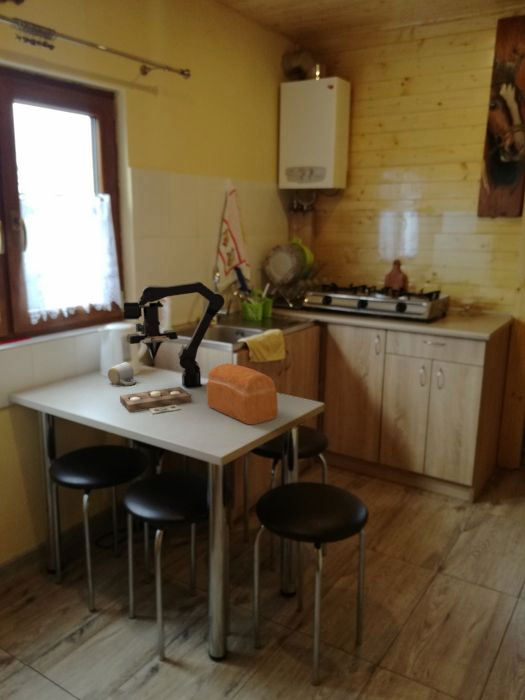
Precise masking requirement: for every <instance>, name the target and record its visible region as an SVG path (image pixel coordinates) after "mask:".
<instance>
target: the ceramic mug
mask: <svg viewBox="0 0 525 700" xmlns="http://www.w3.org/2000/svg"><path fill="white" fill-rule="evenodd" d="M134 375H135V372H134V368H133V367H132V365H131V364H130V363H128V362H127V361H125V362H122V363H120V364H117V365H113V366H112V367H111V368H109V369H108V371H107V377H108V380H109V381H110V382H111V383H112V384H114V385H119V384H122V385H124V386H133V385H134V384H135V382H136V378H135V376H134Z"/></svg>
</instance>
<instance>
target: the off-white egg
mask: <svg viewBox="0 0 525 700" xmlns="http://www.w3.org/2000/svg"><path fill="white" fill-rule="evenodd" d="M152 391H153V392H151V393H150V395H151V398H154V397H161V393H160V392H159V391H154V390H152Z"/></svg>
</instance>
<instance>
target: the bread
mask: <svg viewBox="0 0 525 700" xmlns="http://www.w3.org/2000/svg"><path fill="white" fill-rule="evenodd" d="M207 376H208V377H207V378H208V380H207V382H206V400H207V406H208V407H209V408H211V409H214V410H216V411H217V412H220V413H222V414H224V415H226V416H228V417H231V418H233V419H235V420H237V421H239V422H241V423H244V424H246V425H257V424H259V423H263V422H264V423H265V422H267V421H271V420H273V419H275V418H277V416H278V393H277V389H276V385H275V381H274V380H273V379H272V377H270V376H268V375H266V374H264V373H262V372H260V371H257V370H256V369H252V368H249V367H247V366H242V365H239V364H233V363H228V362H226V363H223V364H220V365H217V366H215V367H213V368H212V369H211V370H210V371H209V372H208V375H207Z"/></svg>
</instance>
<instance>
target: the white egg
mask: <svg viewBox="0 0 525 700" xmlns="http://www.w3.org/2000/svg"><path fill="white" fill-rule="evenodd" d="M170 394H171V395H174V394H180V392H179V391H172V392H170Z"/></svg>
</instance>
